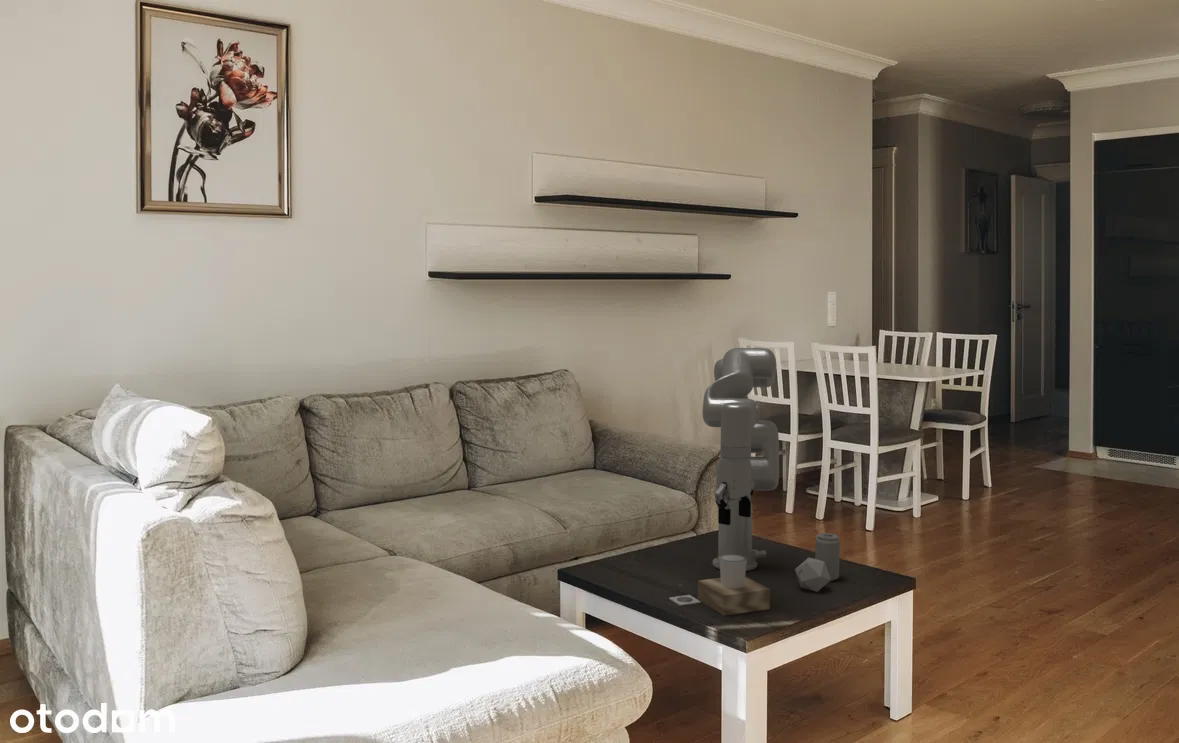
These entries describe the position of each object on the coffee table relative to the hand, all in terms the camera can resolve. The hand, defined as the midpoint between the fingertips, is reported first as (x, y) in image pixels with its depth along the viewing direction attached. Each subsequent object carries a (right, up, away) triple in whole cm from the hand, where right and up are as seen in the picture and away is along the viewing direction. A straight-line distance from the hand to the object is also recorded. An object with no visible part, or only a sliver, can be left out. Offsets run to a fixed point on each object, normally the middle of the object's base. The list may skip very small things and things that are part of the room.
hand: (734, 520), depth 243 cm
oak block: (0, -21, +2) cm, 21 cm away
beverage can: (+29, -20, +23) cm, 42 cm away
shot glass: (0, -17, +1) cm, 17 cm away
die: (+23, -21, +14) cm, 34 cm away
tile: (-12, -21, +4) cm, 25 cm away
